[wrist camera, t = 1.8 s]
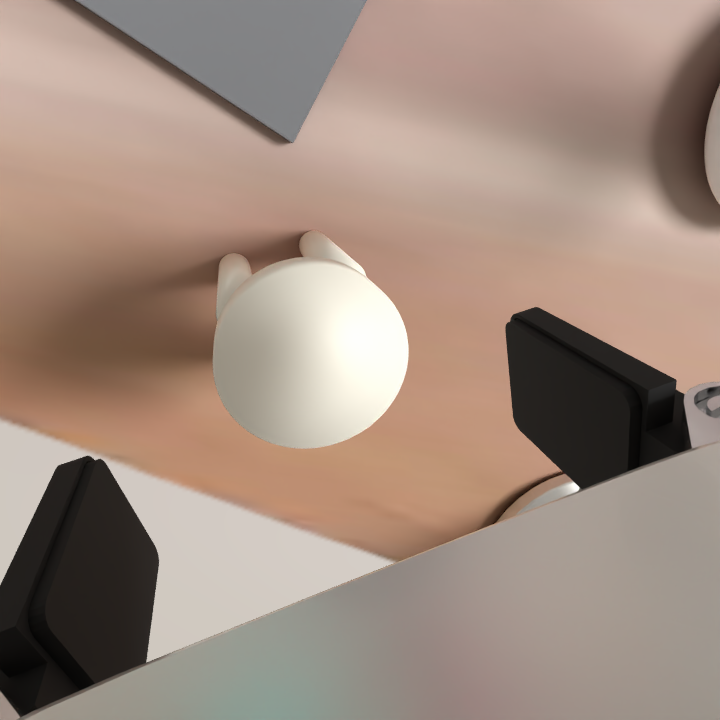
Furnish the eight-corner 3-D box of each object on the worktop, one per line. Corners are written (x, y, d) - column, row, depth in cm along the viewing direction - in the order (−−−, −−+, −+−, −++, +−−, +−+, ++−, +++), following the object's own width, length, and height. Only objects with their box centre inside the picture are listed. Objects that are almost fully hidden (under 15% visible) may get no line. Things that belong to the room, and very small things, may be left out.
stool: (333, 210, 22) (387, 241, 15) (363, 334, 25) (422, 413, 18) (196, 248, 22) (180, 301, 14) (243, 372, 24) (251, 473, 17)
